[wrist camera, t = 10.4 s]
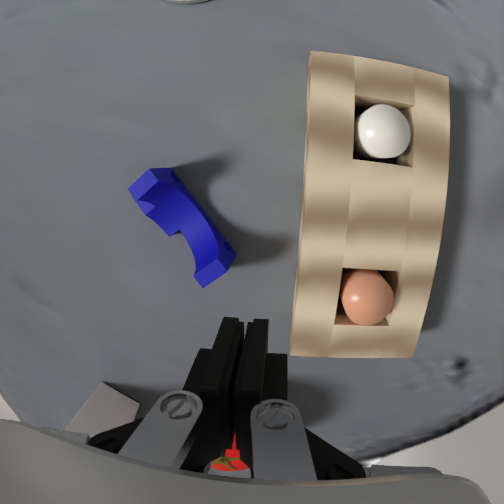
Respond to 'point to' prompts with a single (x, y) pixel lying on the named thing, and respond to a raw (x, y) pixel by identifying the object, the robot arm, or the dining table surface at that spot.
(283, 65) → the dining table surface
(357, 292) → the peach rounded piece
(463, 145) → the dining table surface
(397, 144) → the white domed cylinder
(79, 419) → the milk carton
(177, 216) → the cable clip
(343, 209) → the housing
